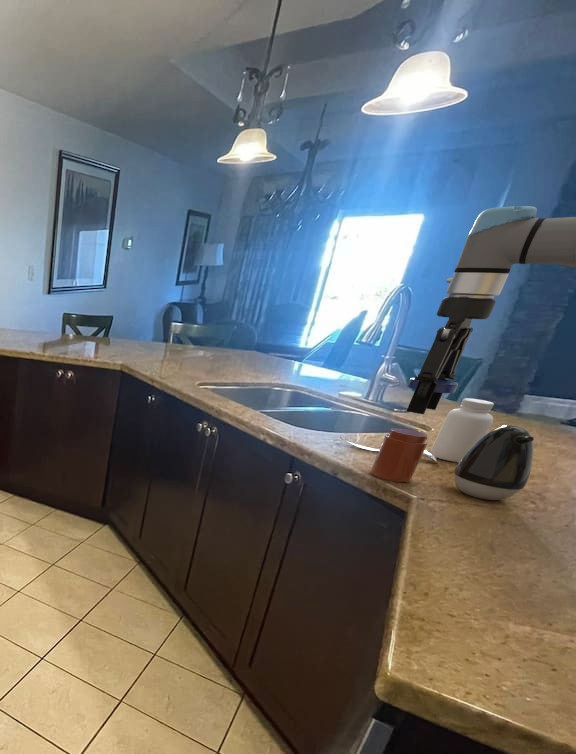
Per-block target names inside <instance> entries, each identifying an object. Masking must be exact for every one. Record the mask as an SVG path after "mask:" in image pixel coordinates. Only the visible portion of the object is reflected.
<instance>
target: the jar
mask: <svg viewBox="0 0 576 754" xmlns="http://www.w3.org/2000/svg"><path fill="white" fill-rule="evenodd" d="M389 431H390V432H389V433H387V434H385V435H384V438H383V440H382V442H381V446H380V447H379V449H380V450H379V452H378V451H377V452H378V453H377V455H376V457H375V459H374V461H373V464H372V467H371V469H370V471H369V472H370V475H372V476H375V477H377V478H379V479H383V480H386V481H389V482H395V483H410V482H412V481H411V480H412V478H413V476H414V474H415V472H416V470H417V468H418V466H419V463H420V461H421V458H422V457H423V456H424V455H423V452H424V450H425V448H426V449H427V446H428V444H429V442H428V441H427V440H428V436H429V435H428V434H427V433H424V432H422V431H418V430H415V429H414V430H413V429H408V428H399V427H394V428H393V427H392V428H390V429H389Z"/></svg>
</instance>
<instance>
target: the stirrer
mask: <svg viewBox="0 0 576 754" xmlns="http://www.w3.org/2000/svg"><path fill="white" fill-rule="evenodd" d="M339 439H341V440H342V441H343V442H345V443H347V444H349V445H351V446H354V447H356V448H359V449H361V450H365V451H370V452H379V450H380V448H375V447H370V446H367V445H364V444H362V443H359V442H357V441H355V440H352V439H350V438H347V437H346V436H342V435H341V436H340V437H339ZM422 456H424V457H427V458H429V459H431V460H432V461H434V462H435V464H438V458H437V457H436V456H435V454H434V453H433V452H432V451H431V449H429V448H427V447H426V448H425V450H424V452H423V455H422Z"/></svg>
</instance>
